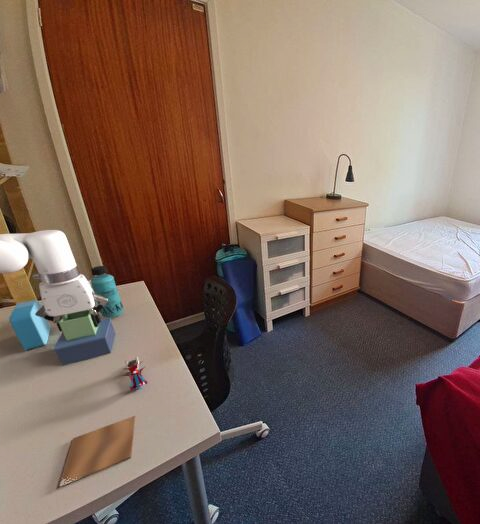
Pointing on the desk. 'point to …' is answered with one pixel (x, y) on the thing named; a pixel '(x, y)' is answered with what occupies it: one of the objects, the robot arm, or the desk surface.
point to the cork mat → (99, 449)
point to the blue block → (86, 345)
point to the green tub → (77, 325)
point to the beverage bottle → (106, 292)
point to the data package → (29, 325)
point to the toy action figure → (135, 374)
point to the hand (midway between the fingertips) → (82, 327)
